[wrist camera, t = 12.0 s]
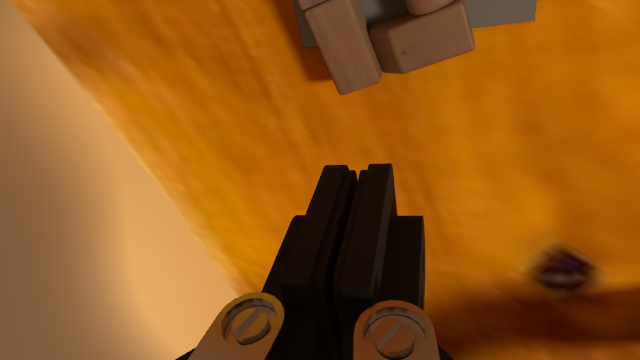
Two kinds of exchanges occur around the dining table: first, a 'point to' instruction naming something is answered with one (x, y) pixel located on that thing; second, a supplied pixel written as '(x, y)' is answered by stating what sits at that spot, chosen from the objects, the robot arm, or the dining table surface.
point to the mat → (384, 3)
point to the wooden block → (386, 38)
